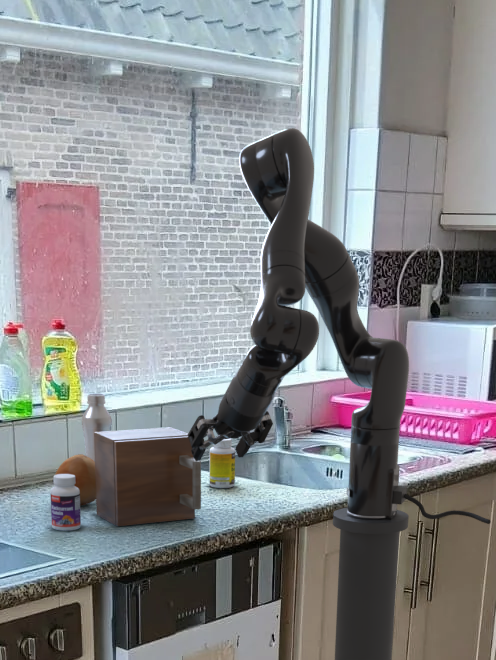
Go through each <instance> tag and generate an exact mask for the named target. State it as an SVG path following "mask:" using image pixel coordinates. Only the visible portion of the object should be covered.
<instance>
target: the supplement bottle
mask: <svg viewBox="0 0 496 660" xmlns="http://www.w3.org/2000/svg"><path fill="white" fill-rule="evenodd" d="M232 440H233V438H230V439H224V440H222V441H221V442H219V443H217V444H216V445H214V444H212V447H211V448H209V465H208V466H209V471H208V472H209V485H210V487H212V488H215V489H228V488H229V489H230V488H233V487H234V486H235V484H236V448H234V447H232V446H233V443H232V442H233V441H232Z"/></svg>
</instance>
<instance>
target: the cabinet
mask: <svg viewBox="0 0 496 660" xmlns="http://www.w3.org/2000/svg"><path fill="white" fill-rule="evenodd" d="M188 433H189V432H186V431H183V430H179V429H177V428H175V427H171V426H167V427H166V426H165V427H151V428H149V427H148V428H135V429H120V430H119V429H118V430H111V431H103V432H94V451H95V481H96V500H95V510H96V516H97V517H100V518H102V519H103V520H105V521H107V522H109V523H110V524H111V525H114V526H117V525H116V497H115V460H114V441H124V440H139V439H153V438H168V437H182V436H187V435H188ZM117 527H118V526H117Z"/></svg>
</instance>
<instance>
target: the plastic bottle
mask: <svg viewBox="0 0 496 660" xmlns="http://www.w3.org/2000/svg"><path fill="white" fill-rule="evenodd" d="M86 399H87V401H86V404H87V405H88V406H87V408H86V409H85V411H84V413H83V415H82V417H81V426H82V433H83V439H84V452H85V454H84V455H85V456H87V457H89V458H91V459H92V460H94V461H95V451H94V432H103V431H112V427H113V419H112V415H111V414H110V413H109V411H108V409H107V407H105V405H106V397H105V394H104V393H100V392H99V393H96V392H95V393H93V392H92V393H87V397H86Z"/></svg>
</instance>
